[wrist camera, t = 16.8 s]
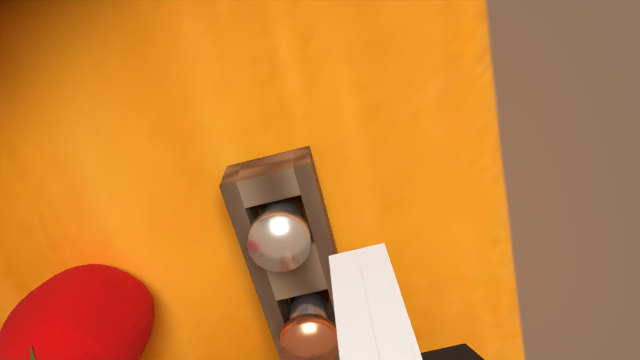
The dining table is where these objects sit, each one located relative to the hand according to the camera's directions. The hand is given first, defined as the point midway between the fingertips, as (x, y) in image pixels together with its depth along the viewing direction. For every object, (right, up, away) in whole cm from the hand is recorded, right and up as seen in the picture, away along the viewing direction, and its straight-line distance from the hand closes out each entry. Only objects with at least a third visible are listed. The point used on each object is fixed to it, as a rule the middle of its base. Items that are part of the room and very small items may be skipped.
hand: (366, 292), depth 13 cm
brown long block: (-3, -8, +38) cm, 39 cm away
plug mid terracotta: (-2, -9, +36) cm, 37 cm away
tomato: (-24, -8, +38) cm, 45 cm away
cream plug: (-5, 0, +33) cm, 34 cm away
